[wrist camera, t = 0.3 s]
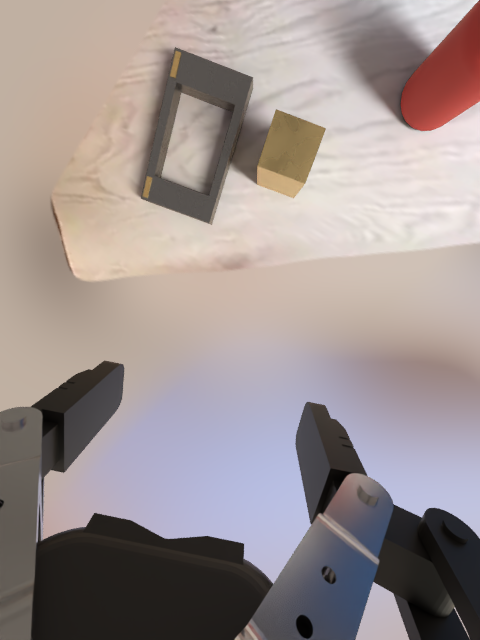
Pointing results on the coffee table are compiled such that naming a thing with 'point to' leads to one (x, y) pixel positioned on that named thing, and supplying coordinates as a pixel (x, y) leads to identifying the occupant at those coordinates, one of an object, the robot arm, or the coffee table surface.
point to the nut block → (288, 153)
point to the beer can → (446, 78)
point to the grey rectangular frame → (192, 80)
